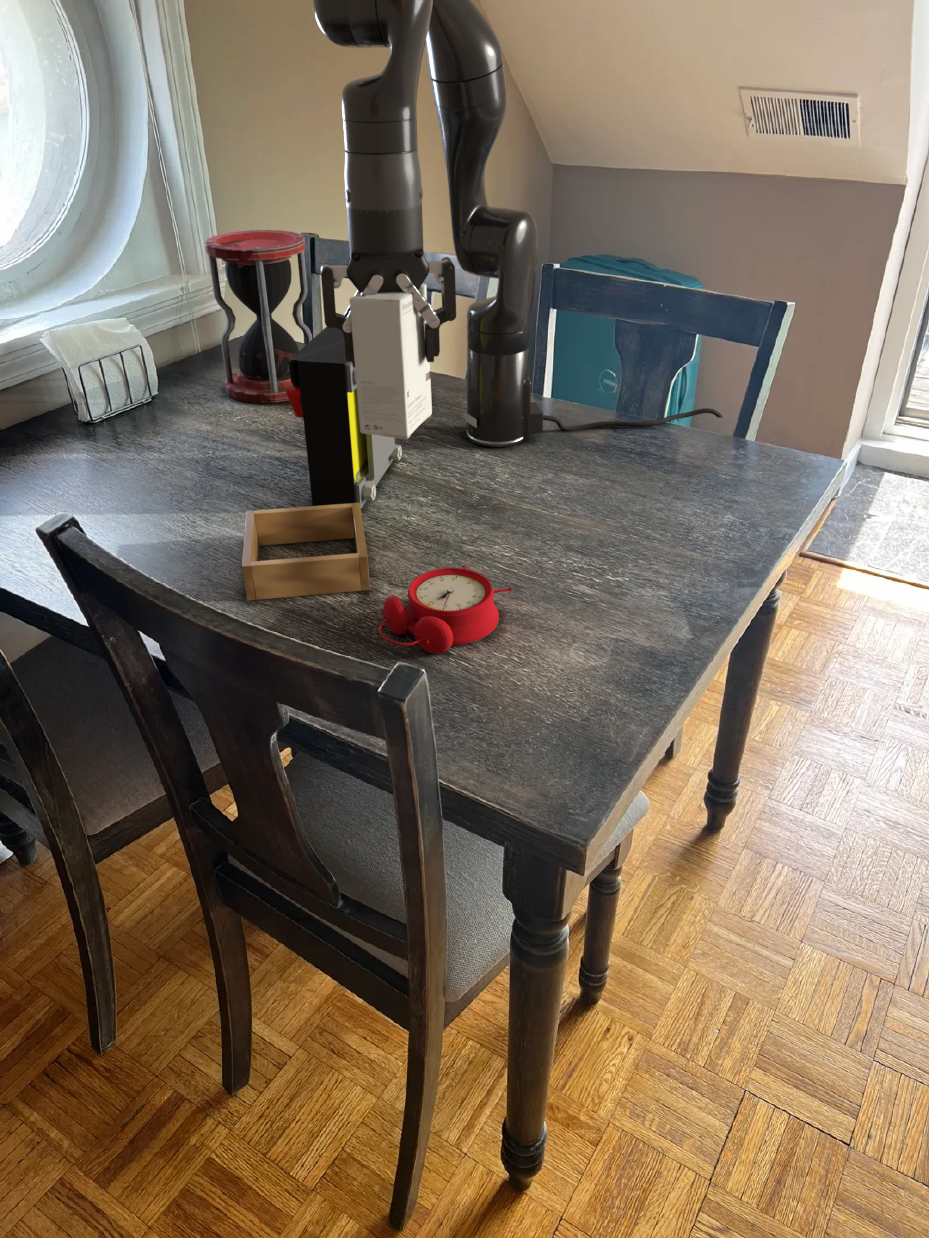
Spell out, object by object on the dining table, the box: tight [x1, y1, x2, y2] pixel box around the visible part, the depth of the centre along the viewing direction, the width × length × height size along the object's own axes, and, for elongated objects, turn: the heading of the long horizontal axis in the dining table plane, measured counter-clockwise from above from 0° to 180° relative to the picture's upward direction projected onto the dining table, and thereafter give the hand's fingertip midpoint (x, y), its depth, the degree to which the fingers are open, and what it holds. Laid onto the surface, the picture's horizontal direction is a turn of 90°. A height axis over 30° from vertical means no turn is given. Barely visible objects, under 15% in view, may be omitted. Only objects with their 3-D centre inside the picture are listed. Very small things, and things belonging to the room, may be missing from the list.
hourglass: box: [203, 229, 313, 404], centre depth 160 cm, size 16×16×25 cm
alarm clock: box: [377, 564, 513, 655], centre depth 101 cm, size 10×6×15 cm
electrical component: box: [286, 326, 403, 509], centre depth 128 cm, size 18×10×20 cm, turn 168°
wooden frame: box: [241, 503, 371, 602], centre depth 113 cm, size 14×14×4 cm
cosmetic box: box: [349, 283, 433, 440], centre depth 102 cm, size 8×6×15 cm
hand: (392, 362), depth 102 cm, fingers closed on cosmetic box, 7 cm apart
